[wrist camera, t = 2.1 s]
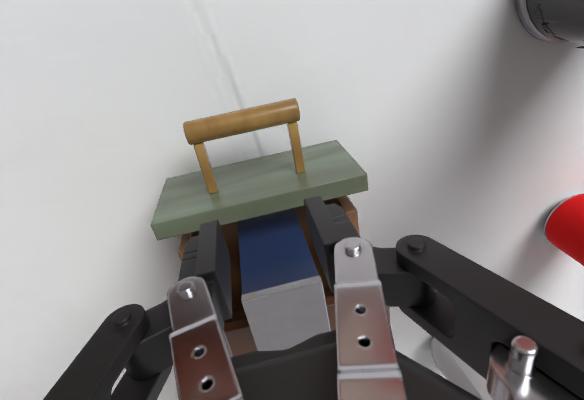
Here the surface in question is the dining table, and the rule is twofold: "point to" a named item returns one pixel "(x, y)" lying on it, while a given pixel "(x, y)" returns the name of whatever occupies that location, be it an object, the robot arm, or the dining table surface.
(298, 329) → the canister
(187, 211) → the drawer
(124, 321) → the robot arm
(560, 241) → the beverage can
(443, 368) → the salt shaker
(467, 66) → the dining table surface
